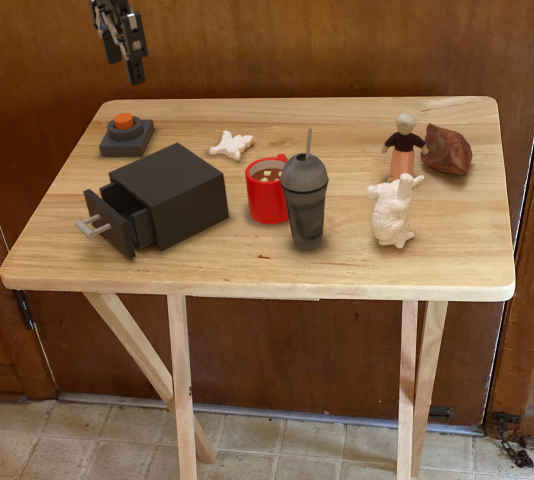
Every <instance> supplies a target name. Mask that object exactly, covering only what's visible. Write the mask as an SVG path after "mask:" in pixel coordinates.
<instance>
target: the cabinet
mask: <svg viewBox="0 0 534 480" xmlns="http://www.w3.org/2000/svg"><path fill="white" fill-rule="evenodd" d="M107 174H108V178H109V182H110V183H112V182H114V181H115V182H116V183H118V184H119V185H120V186H121V187H123V188H124V189H125V190H126V191H128V192H129V193H130V194H131V195H133V196H134V197H135V198H136V199H137V200H139V201H140V202H141V203H142V204H144V205H145V206H146V207H147V208H149V209H150V213H151V218H152V223H153V227H154V232H155V237H156V242H154V243H152V244H151V245H152V246H153V247H154V248H156V249H157V250H158V251H159V252H163V251H165V250H167V249H169V248H171V247H173V246H175V245H177V244H180V243H181V242H183V241H185V240H187V239H189V238H191V237H192V236H195V235H197V234H199V233H200V232H202V231H205V230H207V229H210V228H211V227H213V226H215V225H216V224H219V223H221V222H223V221H225V220H227V219H229V218H230V214H229V213H230V212H229V205H228V197H227V190H226V182H225V176H224V175H225V174H224V172H222V171H221V170H220V169H218V168H216V167H215V166H213V165H212V164H210V163H209V162H208V161H206V160H205V159H203V158H202V157H200V156H199V155H197V154H195V153H194V152H193V151H191V150H189V148H187V147H186V146H184V145H182V144H181V143H180V142H175V143H172V144H171V145H168V146H166V147H163V148H162V149H159V150H157V151H154V152H152V153H150V154H147V155H145V156H142V157H140V158H138V159H136V160H134V161H132V162H129V163H127V164H125V165H123V166H120V167H118V168H116V169H114V170H112V171H109V172H108V173H107Z"/></svg>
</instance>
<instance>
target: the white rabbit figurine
mask: <svg viewBox="0 0 534 480" xmlns="http://www.w3.org/2000/svg"><path fill="white" fill-rule="evenodd" d="M424 180H425V175H424V174H421V175H418V176H417V177H415V178H414V176H411V175H410V174H407V173H404V174H402V175H401V176H400V180H399V179H397V180H395V181H393V182H392V183H387V182H382V183H381V182H380V183H378V184H376V185H373V184H372V185H368V187H367V189H366V192H365V193H366V198H367V200H368V201H372V200H374V206H373V207H372V208H373V209H372V213H371V218H370V231H371V234H372V235H373V237H374V238H376V239H377V240H378V244H379V245H380V246H391V245H394V247H395V248H397V249H399V250H400V249H403V248H404V247H405V244H406V242H407V241H408V240H411V239H412V238H415V236H416V234H415V233H414V232H413V231H409V230H408V229H409V226H410V224H409V220H408V219H409V218H408V212H409V210H408V209H409V208H410V206H411V204H412V202H413V198H414V190H413V188H414V187H416V186H417V185H418V184H420V183H422V181H424Z"/></svg>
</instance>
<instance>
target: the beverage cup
mask: <svg viewBox="0 0 534 480" xmlns="http://www.w3.org/2000/svg"><path fill="white" fill-rule="evenodd" d="M312 132H313V129H312V128H310V127H309V128H308V129H307V137H306V139H307V140H306V141H307V142H306V151H305V152H300V153H297V154H294V155H293V156H291V157H290V158H288V161H287V162H286V163H285V165H284V167H283V170H282V173H281V180H280V183H281V186H282V189H283V193H284V196H285V199H286V204H287V210H288V216H289V220H288V221H289V227H290V233H291V237H292V241H293V245H294V247H295V248H296V249H298V250H300V251H306V252H308V251H309V252H310V251H313V250H316V249H318V248H320V247H321V246H322V243H323V235H324V224H325V208H326V194H327V190H328V185H329V181H330V178H329V175H328V171H327V167H326V165H325V164H324V162H323V161H322V160H321V159H320V158H319V157H318V156H316V155H314V154H312V153H311V145H312V134H313V133H312Z"/></svg>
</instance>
